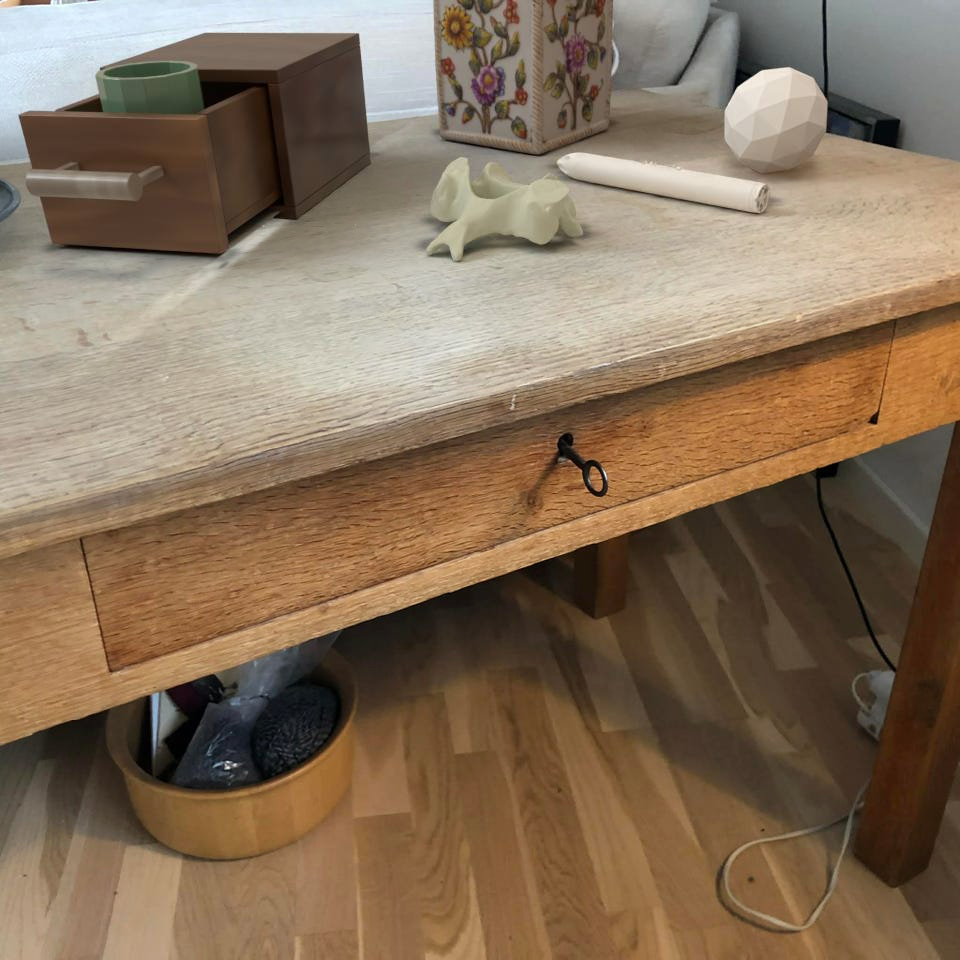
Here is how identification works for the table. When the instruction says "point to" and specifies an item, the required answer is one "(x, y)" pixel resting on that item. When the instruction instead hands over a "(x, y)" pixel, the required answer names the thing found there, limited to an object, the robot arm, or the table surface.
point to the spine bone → (499, 207)
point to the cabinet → (293, 101)
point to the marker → (667, 181)
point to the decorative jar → (523, 71)
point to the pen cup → (151, 88)
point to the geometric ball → (775, 120)
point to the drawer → (155, 171)
